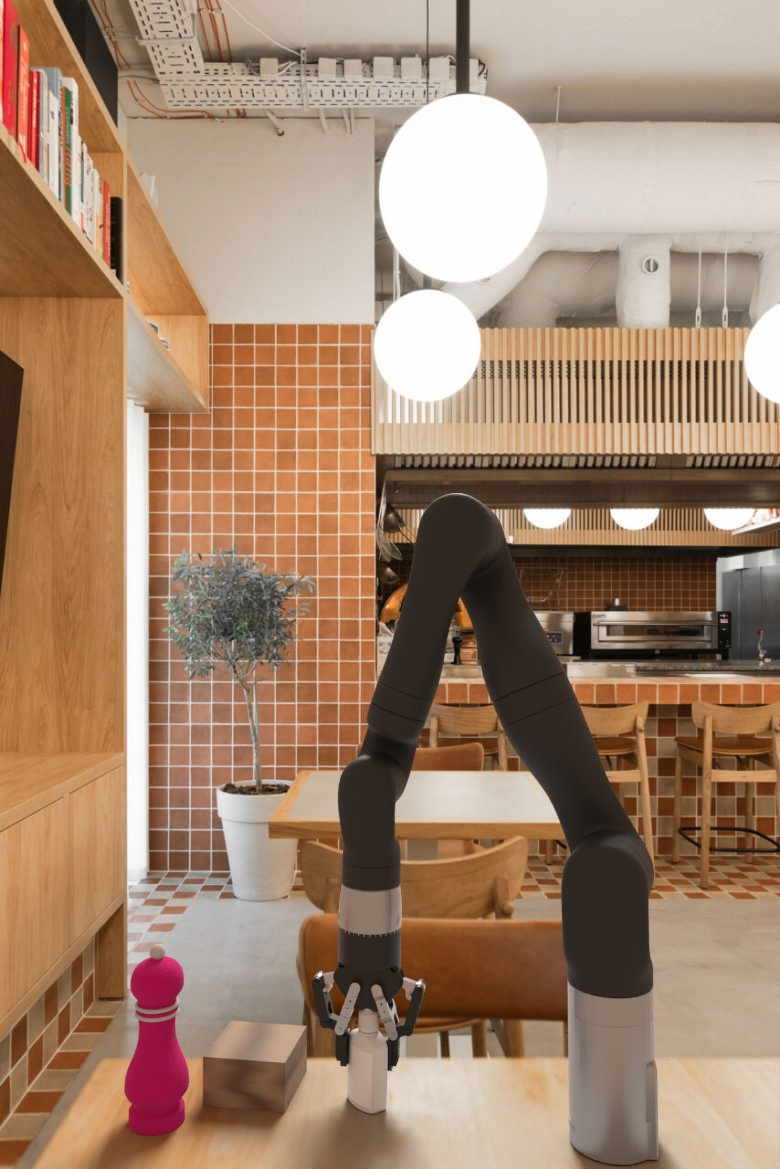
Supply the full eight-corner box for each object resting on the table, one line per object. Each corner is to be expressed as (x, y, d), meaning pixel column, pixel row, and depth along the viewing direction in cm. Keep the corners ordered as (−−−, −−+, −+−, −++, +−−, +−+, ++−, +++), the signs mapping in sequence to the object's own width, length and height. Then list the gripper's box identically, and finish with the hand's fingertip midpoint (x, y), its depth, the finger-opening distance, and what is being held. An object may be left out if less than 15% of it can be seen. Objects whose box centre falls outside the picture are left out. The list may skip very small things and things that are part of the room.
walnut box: (306, 1074, 118) (306, 1025, 118) (285, 1115, 108) (285, 1062, 108) (231, 1068, 120) (231, 1020, 120) (202, 1108, 110) (203, 1056, 110)
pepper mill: (172, 1142, 102) (173, 957, 103) (112, 1135, 104) (113, 953, 104) (199, 1108, 109) (199, 935, 110) (142, 1102, 111) (142, 931, 112)
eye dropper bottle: (350, 1116, 107) (352, 1010, 108) (346, 1092, 113) (348, 991, 113) (387, 1115, 108) (390, 1009, 108) (382, 1091, 113) (384, 990, 114)
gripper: (433, 915, 114) (430, 1057, 113) (319, 907, 116) (315, 1045, 116) (425, 936, 107) (422, 1087, 106) (303, 926, 109) (300, 1075, 108)
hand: (366, 1065), depth 111 cm, fingers closed on eye dropper bottle, 4 cm apart
